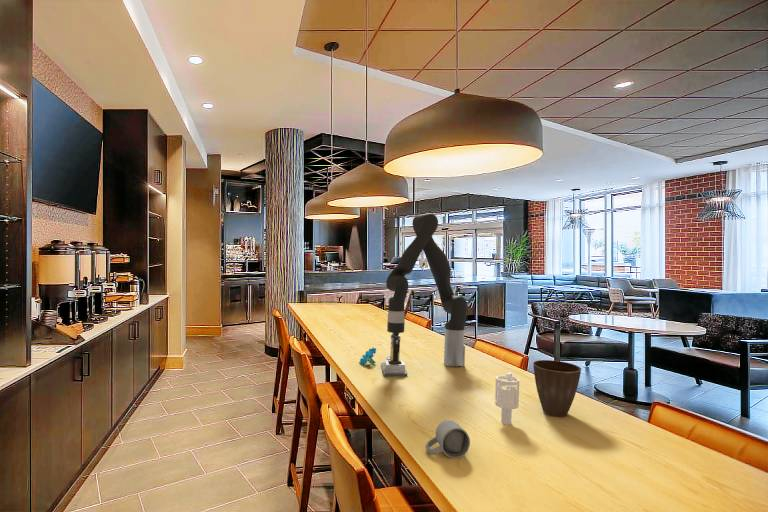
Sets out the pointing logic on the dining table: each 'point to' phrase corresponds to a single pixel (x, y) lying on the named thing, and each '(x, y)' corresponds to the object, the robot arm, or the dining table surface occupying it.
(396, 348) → the cylinder
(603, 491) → the dining table surface
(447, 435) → the ceramic mug
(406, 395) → the dining table surface
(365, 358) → the gear
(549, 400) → the plant pot
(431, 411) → the dining table surface
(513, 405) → the white stepped cylinder
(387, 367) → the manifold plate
